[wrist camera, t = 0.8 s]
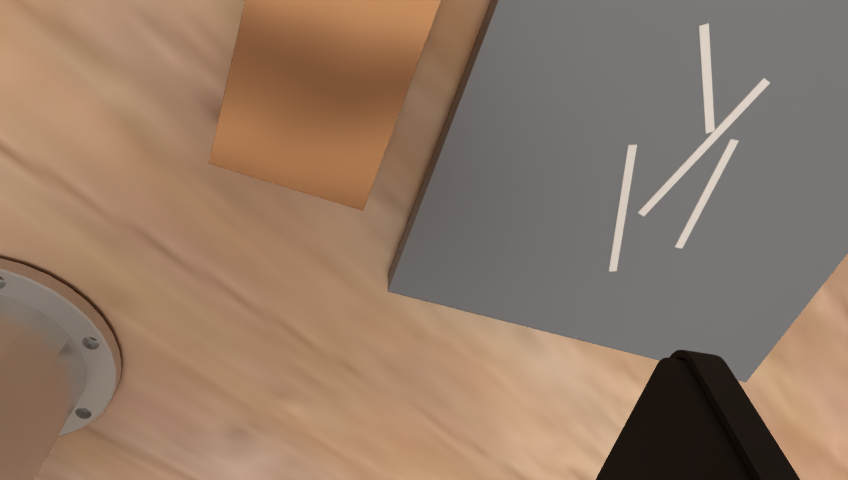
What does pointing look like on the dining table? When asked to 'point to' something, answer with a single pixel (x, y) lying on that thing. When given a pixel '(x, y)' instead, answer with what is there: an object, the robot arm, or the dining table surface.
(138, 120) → the dining table surface
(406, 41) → the block
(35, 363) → the robot arm
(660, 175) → the board
